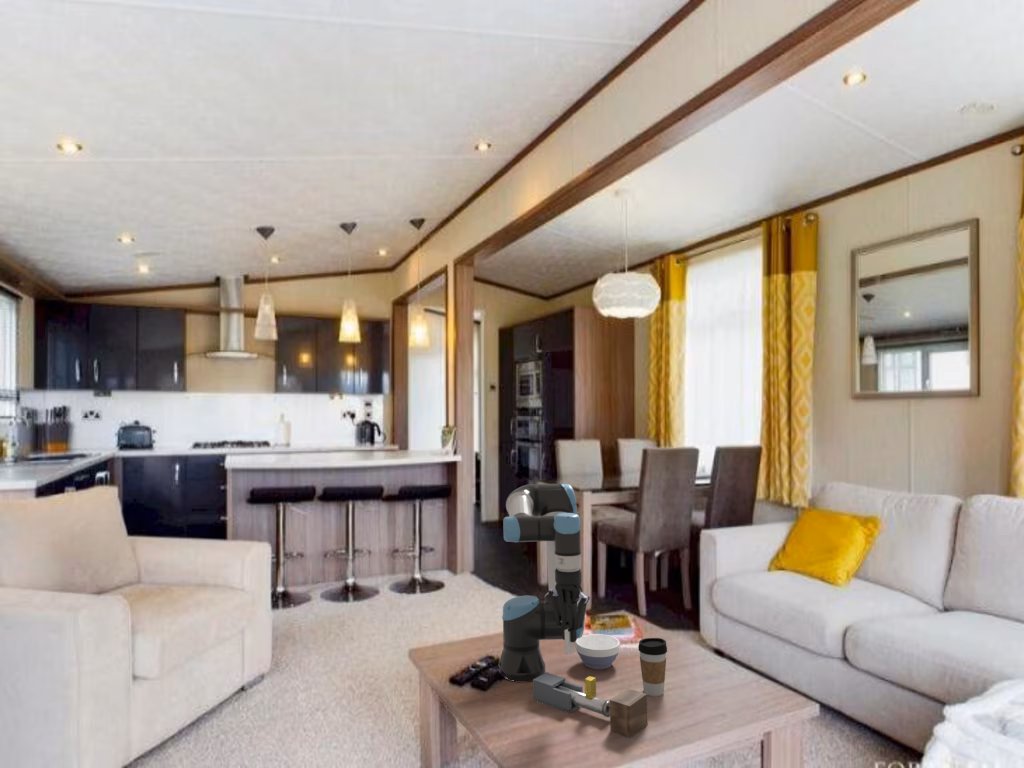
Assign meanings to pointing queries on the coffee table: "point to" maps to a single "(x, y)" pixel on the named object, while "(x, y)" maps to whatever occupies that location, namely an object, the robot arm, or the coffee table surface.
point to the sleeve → (554, 692)
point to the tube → (588, 698)
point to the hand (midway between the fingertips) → (569, 652)
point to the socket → (628, 712)
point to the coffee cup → (653, 665)
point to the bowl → (597, 650)
